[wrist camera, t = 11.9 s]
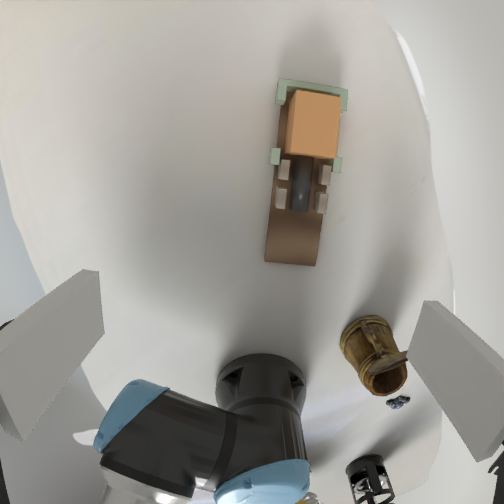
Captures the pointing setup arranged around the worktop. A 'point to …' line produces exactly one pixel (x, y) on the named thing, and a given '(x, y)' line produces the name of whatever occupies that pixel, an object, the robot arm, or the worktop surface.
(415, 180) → the worktop surface
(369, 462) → the french press
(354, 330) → the wooden mug
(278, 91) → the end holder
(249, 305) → the worktop surface
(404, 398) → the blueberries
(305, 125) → the plug
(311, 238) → the board
